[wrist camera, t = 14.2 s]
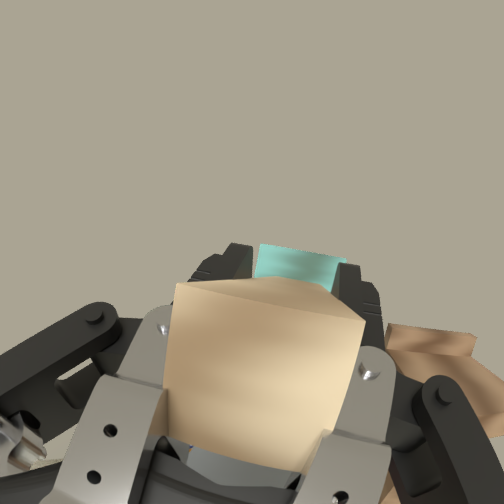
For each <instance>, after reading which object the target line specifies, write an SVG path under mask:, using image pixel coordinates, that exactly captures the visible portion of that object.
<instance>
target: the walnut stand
mask: <svg viewBox="0 0 504 504" xmlns="http://www.w3.org/2000/svg"><path fill="white" fill-rule="evenodd" d="M476 339H477V337H475V336H474V335H472V334H470V333H461V332H452V331H443V330H436V329H427V328H420V327H412V326H405V325H398V324H391V323H388V327H387V330H386V334H385V337H384V341H385V351H386V353H387V354H388V355H389V356H390V357H391V358H392V360H393V361H394V364H395V366H396V370H397V371H398V372H399V373H401V374H403V375H405V376H407V377H409V378H412V379H414V380H417V381H419V382H422V383H425V382H426V380H428V379H429V378H430V377H432V376H435V375H445V376H448V377H450V378H452V379H453V380H454V381H456V382H457V383H458V384H459V386H460V387H461V389H462V391H463V392H464V394H465V396H466V397H467V399H468V401H469V403H470V404H471V406H472V408H473V410H474V412H475V413H476V415H477V417H478V419H479V421H480V423H481V425H482V427H483V429H484V431H485V432H486V434H487V436H488V438H494V437H498V436H503V435H504V382H503V381H502V380H501V379H500V378H498V377H497V376H496V375H495V374H493V373H492V372H490V371H489V370H488V369H487V368H485V367H484V366H483V365H482V364H480V363H479V362H477V361H476V360H475V359H473V358H472V357H471V354H472V351H473V348H474V345H475V342H476ZM378 504H401V503H400V501H399V498H398V495H397V492H396V489H395V487H394V484H393V481H392V479H391V476H390V473H389V471H388V472H387V476H386V479H385V483H384V486H383V490H382V493H381V496H380V499H379V502H378Z"/></svg>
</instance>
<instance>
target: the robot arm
mask: <svg viewBox="0 0 504 504" xmlns="http://www.w3.org/2000/svg"><path fill="white" fill-rule="evenodd" d="M252 260H253V247H252V246H248V245H242V244H237V243H231V244H230V245H229V246H228V248H227V249H226V251H225V252H224V254H223V255H219V254H213V255H212V256H210V257H208V258H207V259H205V260H203V262H202V263H201V264H200V266H199V267H198V268H197V271H195V272H194V273H193V275H192V276H191V279H189V280H188V281H187V282H200V281H216V280H236V279H249V278H252V262H253V261H252ZM331 294H332V295H333V296H334V297H336V298H337V299H338V300H340V301H341V302H343V303H344V304H345V305H346V306H348V307H349V308H350V309H351V310H353V311H354V312H355V313H356V314H357V315H359V316H360V317H361V318H362V319H364V320H365V321H366V323H365V327H364V332H363V336H362V340H361V344H360V347H359V351H358V355H357V359H356V362H355V366H354V369H353V373H352V376H351V379H350V383H349V386H348V389H347V392H346V395H345V398H344V401H343V404H342V407H341V410H340V413H339V416H338V418H337V421H336V424H335V427H334V429H333V431H331V430H328V429H323V431H322V433H321V435H320V437H319V439H318V441H317V443H316V444H315V446H314V448H313V450H312V452H311V454H310V455H309V457H308V459H307V461H306V463H305V464H304V466H303V468H302V470H301V471H300V472H295V471H292V472H291V474H290V476H289V478H288V480H287V482H286V484H285V486H284V488H277V487H272V486H225V485H219V484H216V483H214V482H213V481H211V480H209V479H208V478H206V477H204V476H203V475H201V474H199V473H198V472H196V471H195V470H193V469H191V468H190V467H188V466H187V465H186V464H187V460H188V455H189V448H190V444H187V443H184V442H182V441H179V440H176V439H174V438H171V437H169V424H168V388H163V378H164V369H165V360H166V352H167V344H168V336H169V329H170V322H171V315H172V308H173V302H174V300H173V302H172V303H171V304H170V305H165V306H160V307H157V308H155V309H153V310H151V311H150V312H148V313H147V314H146V316H145V317H144V319H137V318H119V317H118V314H117V312H116V309H115V308H114V307H113V306H112V305H111V304H109V303H106V302H95V303H91V304H88V305H86V306H84V307H83V308H81V309H79V310H77V311H75V312H74V313H72V314H70V315H69V316H67V317H65V318H63V319H62V320H60V321H58V322H56V323H54V324H53V325H51V326H49V327H47V328H46V329H44V330H42V331H40V332H39V333H37V334H35V335H34V336H32V337H30V338H29V339H27V340H25V341H23V342H22V343H20V344H18V345H17V346H15V347H13V348H12V349H10V350H8V351H7V352H5V353H4V354H2V355H0V504H334V502H335V501H336V500H338V504H378V502H379V499H380V496H381V493H382V490H383V486H384V483H385V479H386V476H387V472H388V471H389V473H390V476H391V479H392V481H393V484H394V487H395V489H396V492H397V495H398V498H399V501H400V503H401V504H504V471H503V469H502V467H501V464H500V463H499V460H498V458H497V455H496V453H495V451H494V449H493V447H492V445H491V443H490V441H489V438H488V436H487V434H486V432H485V431H484V429H483V427H482V425H481V423H480V421H479V419H478V417H477V415H476V413H475V412H474V410H473V408H472V406H471V404H470V403H469V401H468V399H467V397H466V396H465V394H464V392H463V391H462V389H461V387H460V386H459V384H458V383H457V382H456V381H454V380H453V379H452V378H450V377H448V376H445V375H435V376H432V377H430V378H429V379H428V380H426V382H425V383H422V382H419V381H417V380H414V379H412V378H409V377H407V376H405V375H403V374H401V373H399V372H398V371H397V370H396V366H395V364H394V361H393V360H392V358H391V357H390V356H389V355H388V354H387V353H386V351H385V341H384V331H383V322H382V316H381V307H380V298H379V293H378V292H377V290H376V288H375V287H374V285H373V284H372V283H370V282H364V281H361V272H360V266H358V265H353V264H347V263H342V262H339V263H338V266H337V269H336V273H335V277H334V281H333V285H332V289H331ZM88 358H91V360H92V361H93V363H91V364H89V365H88V366H86V367H85V368H83V369H81V370H80V371H78V372H77V373H75V374H73V375H72V376H70V377H68V378H67V379H64V380H58V379H57V378H58V377H59V376H61V375H62V374H64V373H66V372H67V371H69V370H71V369H72V368H74V367H75V366H77V365H79V364H80V363H82V362H84V361H85V360H87V359H88ZM78 422H79V423H78ZM77 423H78V425H77V427H76V430H75V432H74V434H73V437H72V439H71V442H70V444H69V447H68V449H67V452H66V455H65V457H64V459H63V461H62V462H59V463H56V464H52V465H49V466H45V467H42V468H38V469H34V470H30V467H31V465H32V464H33V462H35V461H36V460H37V459H38V460H44V459H45V458H46V455H47V453H46V449H45V448H44V447H43V444H45V443H47V442H48V441H50V440H52V439H53V438H55V437H56V436H58V435H60V434H61V433H63V432H64V431H66V430H68V429H69V428H71V427H72V426H74V425H75V424H77ZM29 470H30V471H29Z"/></svg>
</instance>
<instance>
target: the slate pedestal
mask: <svg viewBox="0 0 504 504" xmlns="http://www.w3.org/2000/svg"><path fill="white" fill-rule="evenodd" d="M186 465H187V466H188V467H190V468H191V469H193V470H195V471H196V472H198V473H199V474H201V475H203V476H204V477H206V478H208V479H209V480H211V481H213V482H214V483H216V484H219V485H225V486H272V487H277V488H284V486H285V484H286V482H287V480H288V478H289V476H290V474H291V472H292V471H288V470H283V469H277V468H272V467H267V466H262V465H258V464H254V463H249V462H245V461H241V460H238V459H234V458H230V457H227V456H223V455H220V454H217V453H213V452H210V451H207V450H204V449H201V448H198V447H195V446H194V447H193V448H192V450H191V451H190V452H189V455H188V460H187V464H186Z"/></svg>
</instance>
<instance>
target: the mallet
mask: <svg viewBox="0 0 504 504" xmlns="http://www.w3.org/2000/svg"><path fill="white" fill-rule="evenodd" d="M339 262H342V263H346V259H345V258H340V257H334V256H328V255H323V254H317V253H312V252H306V251H301V250H295V249H289V248H284V247H278V246H272V245H267V244H260V249H259V254H258V260H257V265H256V270H255V276H254V278H249V279H236V280H216V281H200V282H185V283H176V289H175V296H174V302H173V308H172V315H171V322H170V329H169V336H168V344H167V352H166V360H165V369H164V378H163V388H168V424H169V437H171V438H174V439H176V440H179V441H182V442H184V443H187V444H190V445H192V446H195V447H198V448H201V449H204V450H207V451H210V452H213V453H217V454H220V455H223V456H227V457H230V458H234V459H238V460H241V461H245V462H249V463H254V464H258V465H262V466H267V467H272V468H277V469H283V470H288V471H295V472H300V471H301V470H302V468H303V466H304V464H305V463H306V461H307V459H308V457H309V455H310V454H311V452H312V450H313V448H314V446H315V444H316V443H317V441H318V439H319V437H320V435H321V433H322V431H323V429H328V430H331V431H333V429H334V427H335V424H336V421H337V418H338V416H339V413H340V410H341V407H342V404H343V401H344V398H345V395H346V392H347V389H348V386H349V383H350V379H351V376H352V373H353V369H354V366H355V362H356V359H357V355H358V351H359V347H360V344H361V340H362V336H363V332H364V327H365V323H366V321H365V320H364V319H362V318H361V317H360V316H359V315H357V314H356V313H355V312H354V311H353V310H351V309H350V308H349V307H348V306H346V305H345V304H344V303H343V302H341V301H340V300H338V299H337V298H336V297H334V296H333V295H332V294H331V289H332V285H333V281H334V277H335V273H336V269H337V266H338V263H339Z"/></svg>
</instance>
